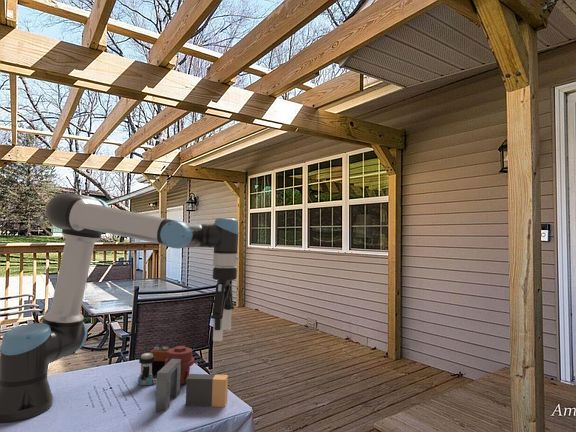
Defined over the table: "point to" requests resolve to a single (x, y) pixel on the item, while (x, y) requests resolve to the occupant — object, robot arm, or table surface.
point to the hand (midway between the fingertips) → (222, 335)
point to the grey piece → (167, 384)
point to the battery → (159, 359)
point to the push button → (146, 369)
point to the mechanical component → (182, 360)
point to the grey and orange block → (206, 390)
